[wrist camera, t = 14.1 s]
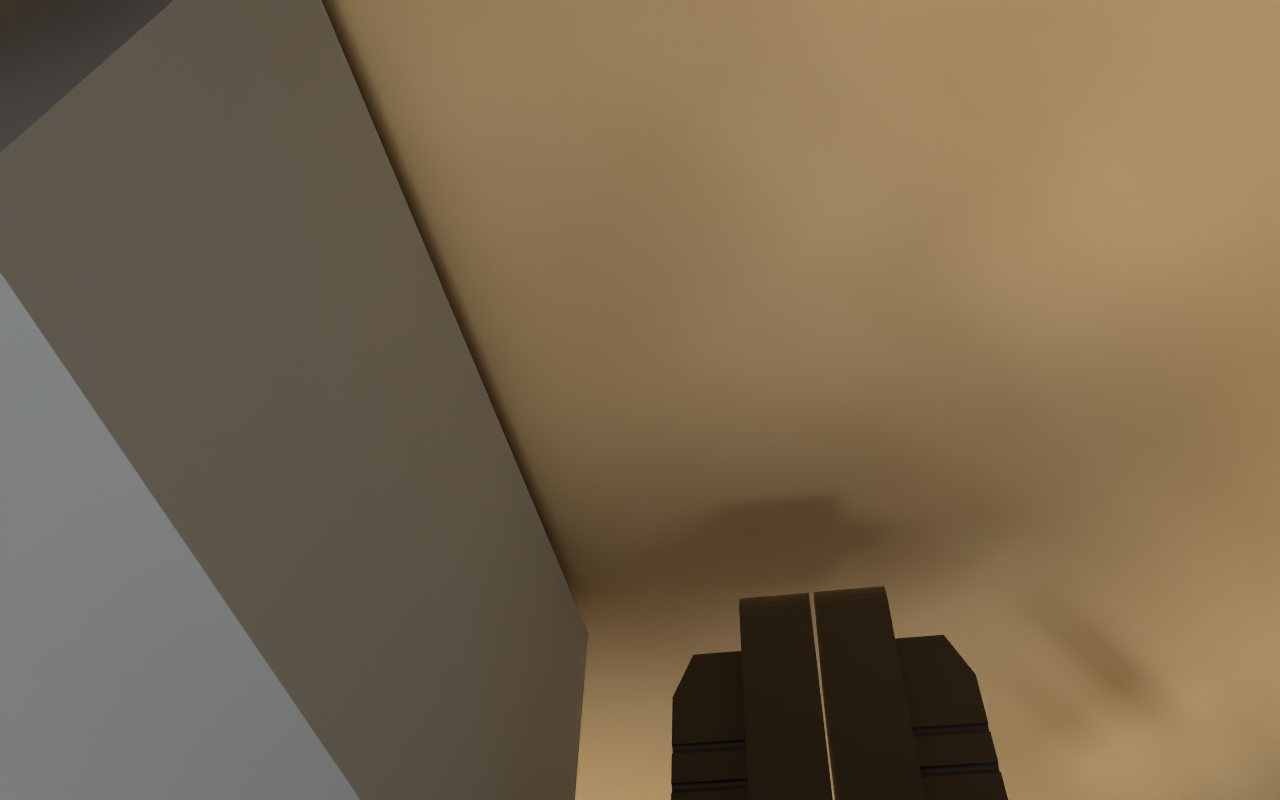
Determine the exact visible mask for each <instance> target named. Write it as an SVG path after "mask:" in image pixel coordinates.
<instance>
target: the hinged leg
mask: <svg viewBox="0 0 1280 800" xmlns="http://www.w3.org/2000/svg"><path fill="white" fill-rule="evenodd" d="M587 639H588V632H587V629H586V627H585V625H584V622H583V620H582V618H581V615H580V613H579V610H578V608H577V606H576V603H575V601H574V599H573V596H572V594H571V591H570V589H569V587H568V584H567V582H566V580H565V577H564V575H563V572H562V570H561V568H560V565H559V563H558V561H557V558H556V556H555V553H554V551H553V549H552V546H551V544H550V542H549V539H548V537H547V534H546V532H545V530H544V527H543V525H542V523H541V520H540V518H539V515H538V513H537V511H536V508H535V506H534V504H533V501H532V499H531V496H530V494H529V492H528V489H527V487H526V485H525V482H524V480H523V477H522V475H521V473H520V470H519V468H518V466H517V463H516V461H515V459H514V456H513V454H512V451H511V449H510V447H509V444H508V442H507V440H506V437H505V435H504V432H503V430H502V428H501V425H500V423H499V421H498V418H497V416H496V413H495V411H494V409H493V406H492V404H491V402H490V399H489V397H488V394H487V392H486V390H485V387H484V385H483V383H482V380H481V378H480V375H479V373H478V371H477V368H476V366H475V364H474V361H473V359H472V356H471V354H470V352H469V349H468V347H467V345H466V342H465V340H464V337H463V335H462V333H461V330H460V328H459V326H458V323H457V321H456V318H455V316H454V314H453V311H452V309H451V307H450V304H449V302H448V299H447V297H446V295H445V292H444V290H443V288H442V285H441V283H440V280H439V278H438V276H437V273H436V271H435V269H434V266H433V264H432V262H431V259H430V257H429V254H428V252H427V250H426V247H425V245H424V243H423V240H422V238H421V235H420V233H419V231H418V228H417V226H416V224H415V221H414V219H413V216H412V214H411V212H410V209H409V207H408V205H407V202H406V200H405V197H404V195H403V193H402V190H401V188H400V186H399V183H398V181H397V178H396V176H395V174H394V171H393V169H392V167H391V164H390V162H389V159H388V157H387V155H386V152H385V150H384V148H383V145H382V143H381V140H380V138H379V136H378V133H377V131H376V129H375V126H374V124H373V121H372V119H371V117H370V114H369V112H368V110H367V107H366V105H365V102H364V100H363V98H362V95H361V93H360V91H359V88H358V86H357V83H356V81H355V79H354V76H353V74H352V72H351V69H350V67H349V65H348V62H347V60H346V57H345V55H344V53H343V50H342V48H341V46H340V43H339V41H338V38H337V36H336V34H335V31H334V29H333V27H332V24H331V22H330V19H329V17H328V15H327V12H326V10H325V8H324V5H323V3H322V0H0V800H575V790H576V777H577V765H578V752H579V740H580V727H581V714H582V702H583V689H584V677H585V664H586V651H587Z"/></svg>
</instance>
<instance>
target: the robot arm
mask: <svg viewBox="0 0 1280 800" xmlns="http://www.w3.org/2000/svg"><path fill="white" fill-rule="evenodd" d="M814 604H815V614H816V625H817V636H818V646H819V657H820V668H821V678H822V689H823V699H824V708H825V717H826V727H827V736H828V744H829V753H830V761H831V770H832V778H833V787H834V795H835V800H1008V798H1007V794H1006V790H1005V787H1004V783H1003V779H1002V775H1001V772H1000V771H999V767H998V759H997V756H996V752H995V748H994V744H993V740H992V736H991V732H989V728H988V721H987V717H986V713H985V709H984V705H983V701H982V697H981V694H980V690H979V686H978V682H977V678H976V675H975V673H974V672H973V671H972V670H971V668H970V667H969V666H968V665H967V663H966V662H965V661H964V660H963V658H962V657H961V656H960V655H959V653H958V652H957V651H956V650H955V648H954V647H953V646H952V645H951V643H950V642H949V641H948V640H947V638H946V637H945V636H944V635H936V636H923V637H911V638H898V639H895V636H894V631H893V626H892V620H891V615H890V610H889V605H888V600H887V595H886V591H885V588H884V587H883V586H882V587H870V588H858V589H846V590H834V591H822V592H814ZM739 612H740V633H741V651H736V652H723V653H710V654H697V655H693V657H692V659H691V661H690V663H689V665H688V667H687V669H686V671H685V673H684V675H683V677H682V679H681V681H680V683H679V685H678V687H677V690H676V692H675V694H674V696H673V710H672V748H673V754H672V779H671V784H672V793H671V800H833V799H832V790H831V781H830V773H829V764H828V755H827V747H826V738H825V730H824V721H823V712H822V704H821V695H820V686H819V678H818V669H817V660H816V652H815V643H814V635H813V626H812V617H811V609H810V600H809V593H803V594H791V595H779V596H767V597H755V598H743V599H740V600H739Z"/></svg>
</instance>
